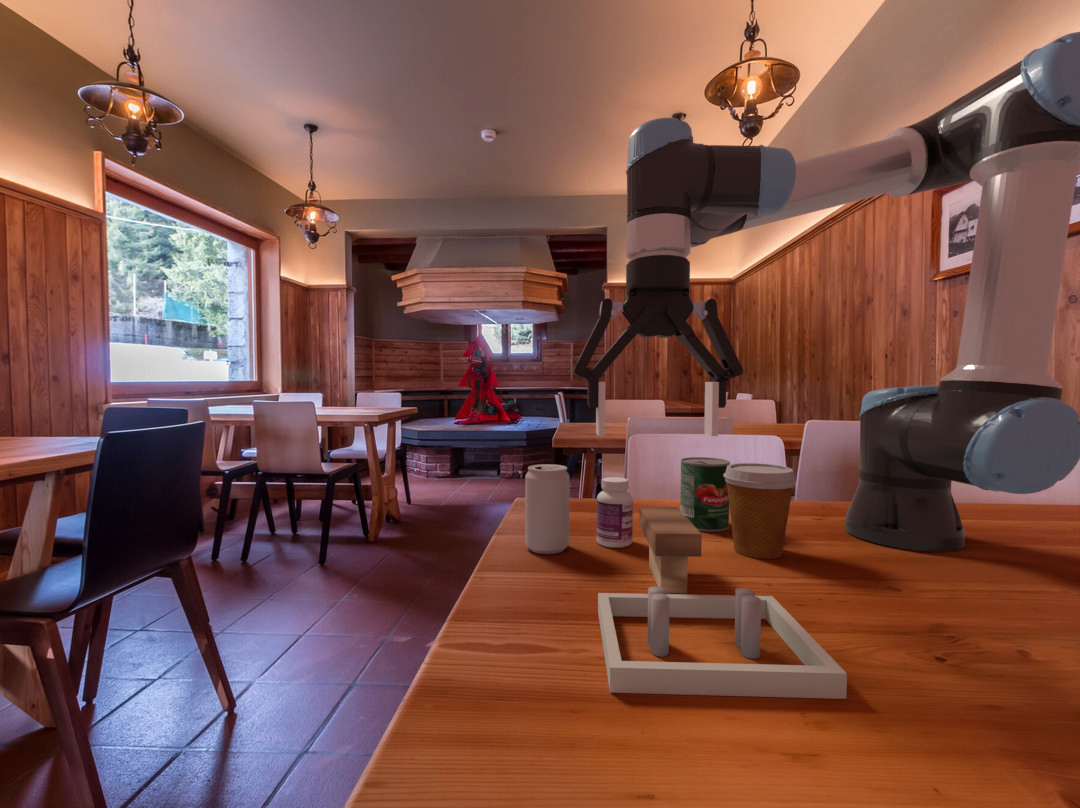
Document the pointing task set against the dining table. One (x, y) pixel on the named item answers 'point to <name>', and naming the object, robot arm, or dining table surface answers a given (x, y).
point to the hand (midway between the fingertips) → (655, 435)
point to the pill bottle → (614, 513)
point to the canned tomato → (705, 493)
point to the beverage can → (547, 508)
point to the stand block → (669, 572)
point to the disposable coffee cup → (759, 507)
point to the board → (670, 532)
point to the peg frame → (717, 678)
